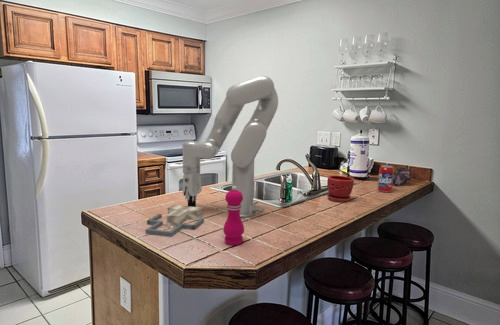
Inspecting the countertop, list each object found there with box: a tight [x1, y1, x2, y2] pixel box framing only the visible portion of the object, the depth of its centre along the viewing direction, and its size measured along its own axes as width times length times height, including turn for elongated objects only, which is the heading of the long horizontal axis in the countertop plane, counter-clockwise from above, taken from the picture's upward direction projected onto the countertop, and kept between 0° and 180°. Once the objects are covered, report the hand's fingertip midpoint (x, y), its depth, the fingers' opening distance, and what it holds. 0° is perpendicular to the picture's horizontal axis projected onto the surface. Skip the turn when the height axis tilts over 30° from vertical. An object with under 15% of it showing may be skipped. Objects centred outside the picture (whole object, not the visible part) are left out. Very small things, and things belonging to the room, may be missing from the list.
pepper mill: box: [222, 186, 245, 246], centre depth 113 cm, size 7×7×20 cm
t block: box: [166, 204, 204, 227], centre depth 136 cm, size 14×14×4 cm
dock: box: [145, 213, 205, 238], centre depth 128 cm, size 20×18×2 cm
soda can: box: [377, 164, 395, 193], centre depth 192 cm, size 8×8×15 cm
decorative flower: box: [393, 167, 412, 187], centre depth 213 cm, size 15×12×15 cm
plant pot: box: [326, 175, 355, 203], centre depth 172 cm, size 13×13×12 cm
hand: (191, 209), depth 147 cm, fingers closed
